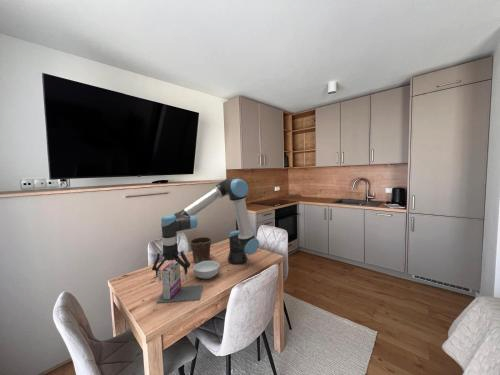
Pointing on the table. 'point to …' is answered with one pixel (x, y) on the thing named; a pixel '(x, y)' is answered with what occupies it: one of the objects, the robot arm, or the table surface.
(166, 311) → the table surface
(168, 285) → the candy bar box
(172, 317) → the table surface
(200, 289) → the mat
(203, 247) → the plant pot
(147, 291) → the table surface
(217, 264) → the cereal bowl
